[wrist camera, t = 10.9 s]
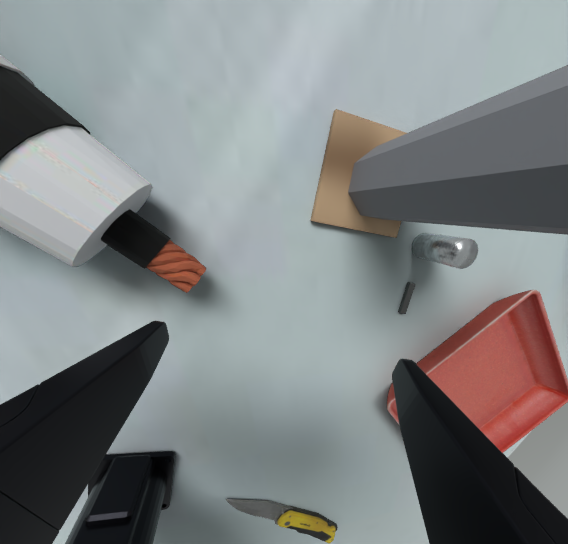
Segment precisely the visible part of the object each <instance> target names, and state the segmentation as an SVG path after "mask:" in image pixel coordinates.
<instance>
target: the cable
mask: <svg viewBox="0 0 568 544" xmlns="http://www.w3.org/2000/svg"><path fill="white" fill-rule="evenodd" d="M152 188H153V187H152V185H151V184H150V183H149V182H148V181H147V180H145V179H144V178H143V177H142V176H141V175H139V174H138V173H137V172H136V171H134V170H133V169H132V168H131V167H129V166H128V165H127V164H126V163H124V162H123V161H122V160H121V159H119V158H118V157H117V156H116V155H114V154H113V153H112V152H111V151H110V150H108V149H107V148H106V147H105V146H103V145H102V144H101V143H100V142H98V141H97V140H96V139H95V138H93V137H92V136H91V135H90V132H89V131H88V130H87V129H86V128H85V127H84V126H83V125H82V124H80V123H79V122H78V121H77V120H75V119H74V118H73V117H72V116H71V115H69V114H68V113H67V112H66V111H64V110H63V109H62V108H61V107H59V106H58V105H57V104H56V103H55V102H53V101H52V100H51V99H50V98H48V97H47V96H46V95H45V94H43V93H42V92H41V91H40V90H39V89H37V88H36V87H35V86H34V84H33V82H32V81H31V80H30V79H29V78H28V77H27V76H26V75H25V74H24V73H22V72H21V71H20V70H19V69H18V68H17V67H15V66H14V65H13V64H12V63H11V62H9V61H8V60H7V59H6V58H4V57H3V56H2V55H1V54H0V227H2V228H4V229H5V230H7V231H9V232H11V233H12V234H14V235H16V236H18V237H20V238H21V239H23V240H25V241H27V242H29V243H30V244H32V245H34V246H36V247H38V248H39V249H41V250H43V251H45V252H47V253H48V254H50V255H52V256H54V257H56V258H57V259H59V260H61V261H63V262H65V263H66V264H68V265H70V266H72V267H78V266H80V265H82V264H84V263H85V262H87V261H88V260H90V259H91V258H92V257H94V256H95V255H96V254H97V253H99V252H100V251H101V250H102V249H103V248H104V247H105V246H107V245H109V246H110V247H112V248H113V249H115V250H116V251H118V252H119V253H121V254H123V255H124V256H126V257H127V258H129V259H130V260H132V261H133V262H135V263H137V264H138V265H140V266H141V267H143V268H144V269H145V268H148V269H149V270H151V271H152V272H155V273H156V274H157V275H158V276H160V277H162V278H164V279H167V280H168V281H169V282H170V283H171V284H172V285H174V286H176V287H177V288H179V289H181V290H183V291H184V292H186V293H187V292H189V290H190V289H191V288H192V286H195V285H196V284H197V283H198V281H199V280H200V276H201V275H203V273H204V272H205V271H206V268H205V266H203V265H202V264H201V263H200V262H199V261H198V260H197V259H196V258H195V257H193V256H191V255H190V254H187V253H186V252H185V251H184V250H183V249H182V248H181V247H179V246H177V245H175V244H174V243H173V242H172V241H171V240H170V238H169V237H168V236H166V235H165V234H164V233H162V232H161V231H159V230H158V229H157V228H155V227H154V226H153V225H151V224H150V223H148V222H147V221H146V220H144V219H143V218H142V217H140V216H139V215H137V214H136V213H137V212H138V211H139V209H140V208H141V207H142V206H143V204H144V203H145V202H146V200H147V198H148V197H149V195H150V193H151V190H152Z"/></svg>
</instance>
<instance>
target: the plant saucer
mask: <svg viewBox="0 0 568 544" xmlns="http://www.w3.org/2000/svg"><path fill="white" fill-rule="evenodd" d="M417 365H418V366H419V367H420V368H421V369H422V370H423V371H424V373H425V374H426V375H427V376H428V377H429V378H430V379H431V380H432V381H433V382H434V383H435V384H436V385H437V386H438V387H439V388H440V389H441V390H442V391H443V392H444V393H445V394H446V395H447V396H448V397H449V398H450V399H451V400H452V401H453V402H454V403H455V404H456V406H457V407H458V408H459V409H460V410H461V411H462V412H463V413H464V414H465V415H466V416H467V417H468V418H469V419H470V420H471V421H472V422H473V423H474V424H475V425H476V426H477V427H478V428H479V429H480V430H481V431H482V432H483V433H484V434H485V435H486V436H487V438H488V439H489V440H490V441H491V442H492V443H493V444H494V445H495V446H496V447H497V448H498V449H499V450H500V451H501V452H502V453H503V452H505V451H506V450H507V449H508V448H510V447H511V446H512V445H513V444H515V443H516V442H517V441H519V440H520V439H521V438H522V437H524V436H525V435H527V434H528V433H529V432H530V431H531V430H533V429H534V428H535V427H536V426H538V425H539V424H540V423H542V422H543V421H544V420H546V419H547V418H548V417H549V416H551V415H552V414H553V413H554V412H556V411H557V410H558V409H559V408H561V407H562V406H563V405H564V404H566V403H567V402H568V379H567V376H566V373H565V369H564V367H563V363H562V360H561V357H560V353H559V351H558V348H557V345H556V341H555V338H554V335H553V332H552V329H551V326H550V322H549V320H548V316H547V312H546V310H545V306H544V303H543V301H542V297H541V294H540V292H539V291H537V290H530V291H526V292H522V293H518V294H515V295H512V296H509V297H507V298H504V299H502V300H499V301H497V302H495V303H493V304H492V305H490V306H489V307H488V308H486V309H485V310H484V311H483V312H481V313H480V314H479V315H477V316H476V317H475V318H474V319H473V320H471V321H470V322H469V323H467V324H466V325H465V326H464V327H462V328H461V329H460V330H459V331H457V332H456V333H455V334H454V335H452V336H451V337H450V338H448V339H447V340H446V341H445V342H443V343H442V344H441V345H440V346H438V347H437V348H436V349H434V350H433V351H432V352H431V353H429V354H428V355H427V356H426V357H424V358H423V359H422V360H420V361H419V362H418V363H417ZM387 409H388V411H389V413H390V414H391V415H392V416H393V418H394V419H395V420H396V422H397V423H398V424H399V420H398V414H397V408H396V401H395V394H394V387H393V383H392V384H391V387H390V390H389V393H388V398H387Z"/></svg>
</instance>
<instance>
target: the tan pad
mask: <svg viewBox="0 0 568 544" xmlns="http://www.w3.org/2000/svg"><path fill="white" fill-rule="evenodd" d="M404 134H407V133H405V132H402V131H399V130H396V129H393V128H391V127H388V126H385V125H382V124H379V123H376V122H373V121H370V120H367V119H364V118H361V117H358V116H355V115H352V114H349V113H346V112H343V111H340V110H337V109H336V110H335V111H334V113H333V118H332V122H331V127H330V132H329V137H328V141H327V146H326V151H325V155H324V160H323V165H322V169H321V174H320V179H319V183H318V188H317V193H316V197H315V202H314V207H313V211H312V216H311V221H314V222H319V223H324V224H329V225H334V226H339V227H344V228H349V229H354V230H359V231H364V232H369V233H374V234H379V235H384V236H389V237H395V238H396V237H397V234H398V231H399V228H400V224H401V221H396V220H383V219H378V218H373V217H367V216H362V215H360V214H359V212H358V210H357V208H356V206H355V204H354V203H353V201H352V199H351V197H350V195H349V193H348V190H349V185H350V181H351V176H352V172H353V167H354V163H355V162H357V161H358V160H359V159H361V158H362V157H363V156H364V155H366V154H367V153H368V152H370V151H371V150H372V149H374V148H375V147H376V146H378V145H381V144H383V143H385V142H388V141H390V140H393V139H395V138H397V137H400V136H402V135H404Z"/></svg>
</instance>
